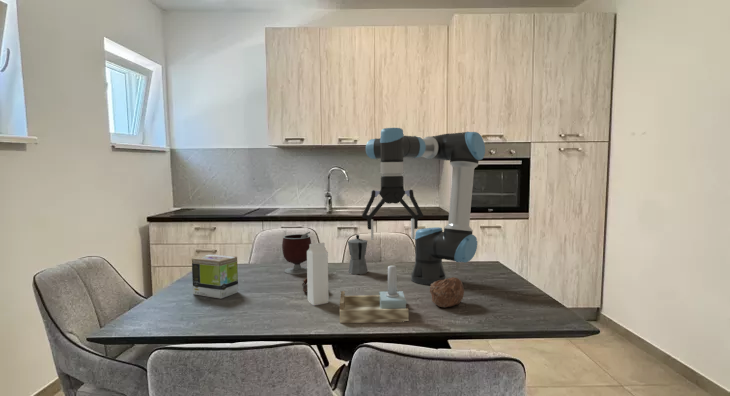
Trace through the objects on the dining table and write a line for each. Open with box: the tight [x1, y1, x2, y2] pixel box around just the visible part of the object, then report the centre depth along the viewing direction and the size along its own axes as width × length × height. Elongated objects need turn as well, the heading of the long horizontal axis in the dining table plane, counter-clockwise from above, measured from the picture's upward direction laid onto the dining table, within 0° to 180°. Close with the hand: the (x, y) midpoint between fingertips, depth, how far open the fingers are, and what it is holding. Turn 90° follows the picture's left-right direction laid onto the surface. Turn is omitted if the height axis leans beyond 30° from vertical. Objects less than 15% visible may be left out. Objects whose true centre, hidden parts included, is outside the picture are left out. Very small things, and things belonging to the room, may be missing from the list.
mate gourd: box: [281, 231, 312, 275], centre depth 189 cm, size 16×14×20 cm
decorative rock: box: [429, 276, 465, 308], centre depth 140 cm, size 13×11×10 cm
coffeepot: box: [347, 234, 368, 275], centre depth 185 cm, size 15×9×18 cm, turn 9°
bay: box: [339, 290, 410, 324], centre depth 134 cm, size 22×18×6 cm
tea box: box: [191, 253, 239, 299], centre depth 156 cm, size 15×10×15 cm, turn 65°
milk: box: [306, 242, 329, 306], centre depth 144 cm, size 6×6×22 cm
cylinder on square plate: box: [378, 265, 408, 309], centre depth 132 cm, size 8×10×15 cm
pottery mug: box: [301, 277, 307, 293], centre depth 157 cm, size 12×9×8 cm
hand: (392, 238), depth 131 cm, fingers open, 13 cm apart
